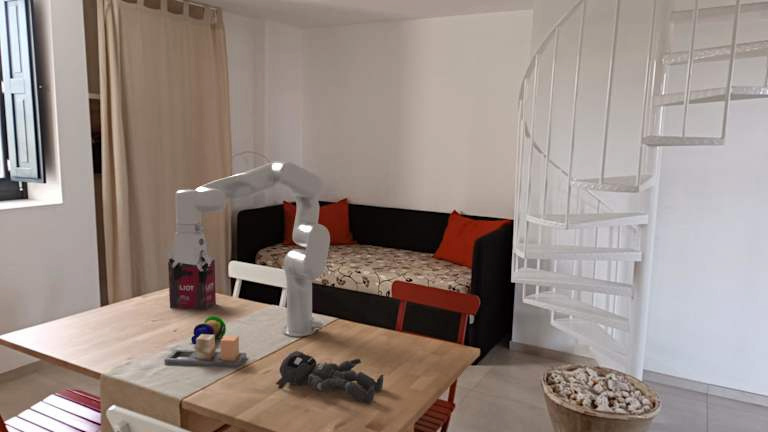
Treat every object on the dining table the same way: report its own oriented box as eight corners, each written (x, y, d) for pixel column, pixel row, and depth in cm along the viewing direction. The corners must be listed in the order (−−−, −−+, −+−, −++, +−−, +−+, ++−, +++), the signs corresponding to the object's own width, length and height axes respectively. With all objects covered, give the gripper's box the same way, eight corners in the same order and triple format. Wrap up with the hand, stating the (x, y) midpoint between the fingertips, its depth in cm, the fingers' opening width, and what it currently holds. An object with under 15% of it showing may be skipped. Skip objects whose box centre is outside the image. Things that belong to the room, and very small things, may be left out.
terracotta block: (239, 359, 180) (238, 335, 179) (234, 364, 176) (234, 340, 175) (225, 358, 180) (225, 335, 179) (221, 364, 176) (220, 340, 175)
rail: (246, 360, 182) (246, 352, 182) (238, 370, 174) (238, 362, 174) (175, 357, 184) (175, 349, 183) (164, 367, 176) (164, 359, 175)
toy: (217, 334, 187) (237, 319, 202) (198, 318, 188) (219, 304, 202) (199, 358, 190) (220, 342, 205) (180, 342, 191) (202, 327, 205)
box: (169, 307, 235) (168, 262, 232) (180, 301, 244) (179, 257, 241) (206, 310, 232) (204, 264, 229) (215, 304, 241) (214, 259, 238)
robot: (368, 388, 150) (272, 360, 159) (364, 422, 152) (269, 392, 161) (388, 365, 165) (299, 340, 174) (383, 396, 167) (296, 370, 176)
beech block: (215, 358, 181) (214, 334, 180) (210, 363, 176) (209, 339, 175) (202, 357, 181) (201, 334, 180) (196, 362, 177) (196, 339, 175)
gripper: (218, 229, 176) (219, 281, 178) (175, 224, 182) (177, 275, 184) (203, 232, 169) (204, 286, 171) (158, 228, 175) (160, 280, 177)
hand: (190, 280), depth 178 cm, fingers open, 9 cm apart
